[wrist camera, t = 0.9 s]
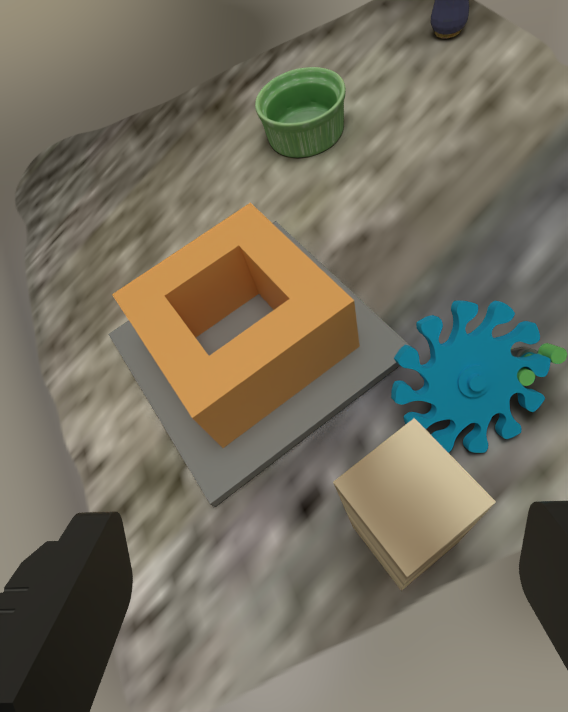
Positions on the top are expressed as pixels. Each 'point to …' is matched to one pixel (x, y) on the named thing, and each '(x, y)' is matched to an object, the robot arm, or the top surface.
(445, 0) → the rubber mallet
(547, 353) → the gear
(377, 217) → the top surface
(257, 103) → the ramekin
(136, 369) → the orange square frame
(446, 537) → the tall wooden block
